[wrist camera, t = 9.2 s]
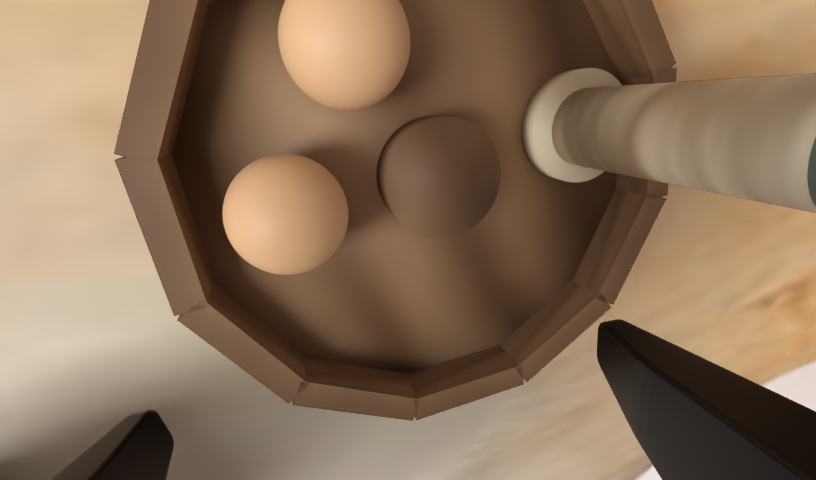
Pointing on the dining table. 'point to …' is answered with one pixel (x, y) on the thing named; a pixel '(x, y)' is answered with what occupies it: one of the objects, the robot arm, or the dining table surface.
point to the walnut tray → (390, 198)
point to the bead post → (680, 133)
